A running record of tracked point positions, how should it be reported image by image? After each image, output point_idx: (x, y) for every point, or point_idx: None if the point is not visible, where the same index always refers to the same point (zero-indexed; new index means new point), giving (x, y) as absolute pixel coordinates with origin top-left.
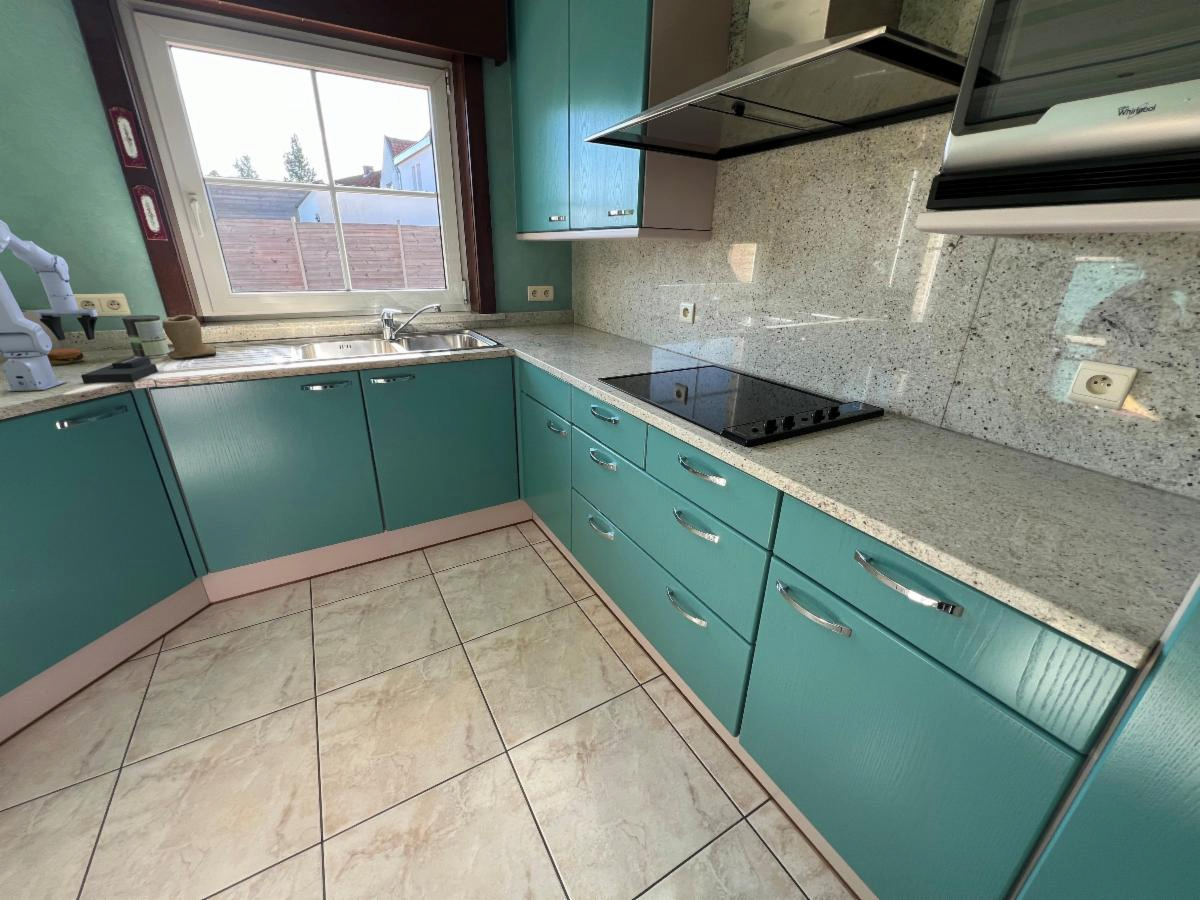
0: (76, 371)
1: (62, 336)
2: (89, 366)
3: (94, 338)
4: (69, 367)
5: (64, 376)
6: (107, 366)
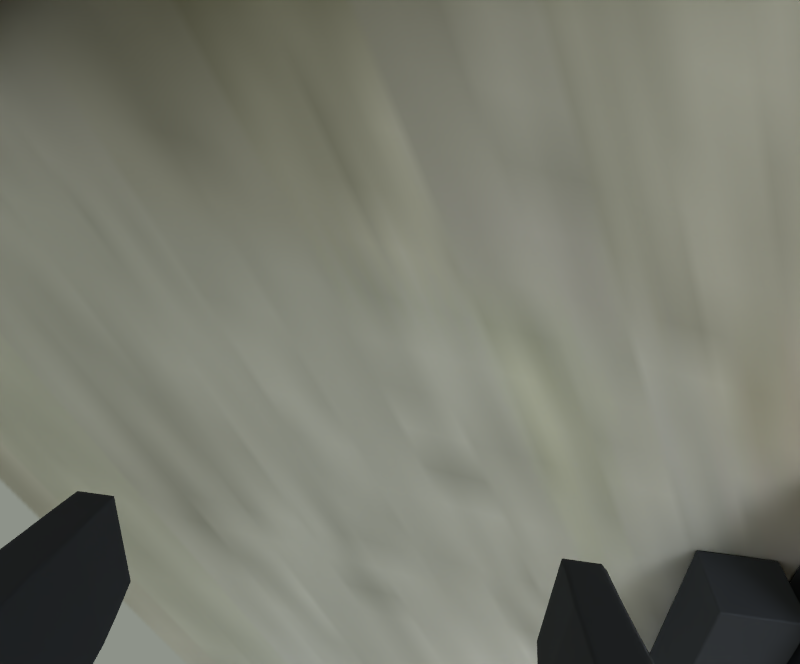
0: (365, 413)
1: (86, 581)
2: (354, 177)
3: (608, 578)
4: (173, 186)
5: (379, 566)
6: (708, 658)
